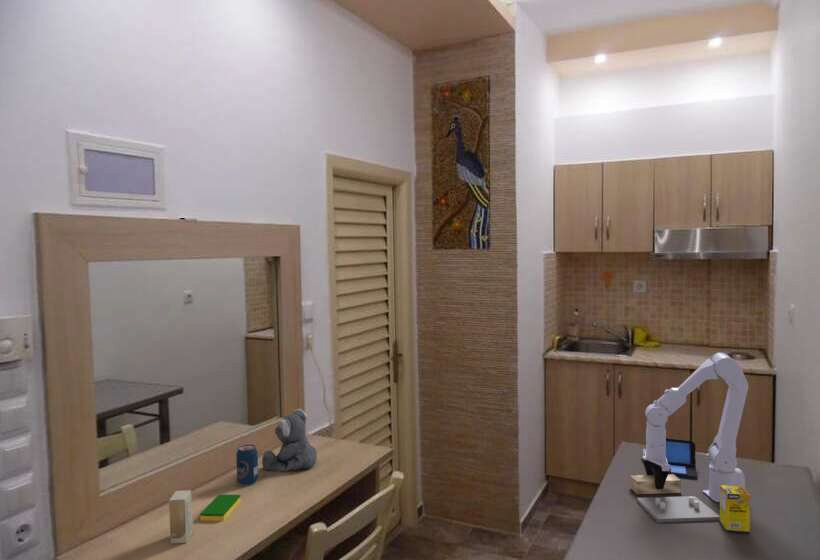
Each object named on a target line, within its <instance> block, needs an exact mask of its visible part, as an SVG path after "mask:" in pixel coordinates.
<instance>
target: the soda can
mask: <svg viewBox="0 0 820 560" xmlns="http://www.w3.org/2000/svg"><path fill="white" fill-rule="evenodd" d="M235 456H236V457H235V459H236V460H235V461H236V481H237V482H238V485H241V486H244V487H246V486H253V485H255V484H256V483H257V481H258V480H259V458H258V456H259V455H258V450H257V447H256V446H255V445H254V444H243V445H240V446H238V447H237V451H236V453H235Z"/></svg>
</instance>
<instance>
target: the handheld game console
mask: <svg viewBox="0 0 820 560" xmlns="http://www.w3.org/2000/svg"><path fill="white" fill-rule="evenodd" d="M666 459H667V462H668V464H669V465H670V468H671V472H670V473H669V474H674V475H675V476H676V477H677V478H679V479H680V478H681V479H689V478H690V479H689V480H691V479H692V480H697V479H698V475H699V474H698V473H697V472H698V471H697V466H696V464H697V462H696V460H697V459H696V443H695V442H694V441H693V440H684V439H675V438H667V437H666Z"/></svg>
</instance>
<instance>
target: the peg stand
mask: <svg viewBox="0 0 820 560" xmlns="http://www.w3.org/2000/svg"><path fill="white" fill-rule="evenodd" d="M636 502H637V503H638V504H639V505H640V506H641V507H642V508H643V509H644V511H646V512H647V513H648V515H650V516H651V517H652V518H653V520H655V521H656V523H678V522H679V523H680V522H684V523H685V522H711V521H712V522H715V521H720V514H717V512H716V511H714V510H713V509H711V507H709V506H708V505H706V504H705V503H704V502H703V501H701V500H700V499H699V498H698V497H697V496H695V495H690V496H689V495H687V496H685V495H684V496H661V497H660V496H658V497H655V496H654V497H637V498H636Z"/></svg>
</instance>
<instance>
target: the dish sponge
mask: <svg viewBox="0 0 820 560" xmlns="http://www.w3.org/2000/svg"><path fill="white" fill-rule="evenodd" d="M241 496H242V495H241V494H223V493H222V494H217V496H216V497H215V498H213V500H212V501H211V502H210V503H209V504H208V505H207V506H206V507H205V508H204V509H203V510H202V511H201V512H200V514H199V515H200V521H202V522H205V521H206V522H209V521H210V522H213V521H214V522H224V521H225V520H226V519H227V518H228V517H229V516H230V515H231V514H232V512H233V511H234V510H235V508H237V506H238V505H239V504H240V503H241V499H242V498H241Z"/></svg>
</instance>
